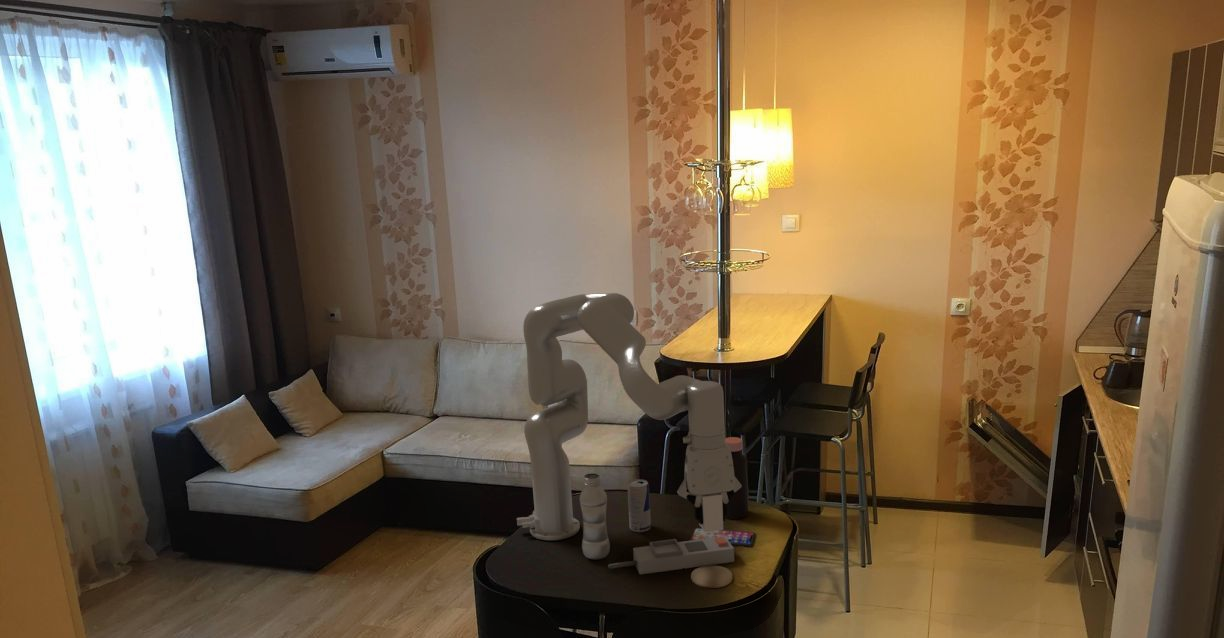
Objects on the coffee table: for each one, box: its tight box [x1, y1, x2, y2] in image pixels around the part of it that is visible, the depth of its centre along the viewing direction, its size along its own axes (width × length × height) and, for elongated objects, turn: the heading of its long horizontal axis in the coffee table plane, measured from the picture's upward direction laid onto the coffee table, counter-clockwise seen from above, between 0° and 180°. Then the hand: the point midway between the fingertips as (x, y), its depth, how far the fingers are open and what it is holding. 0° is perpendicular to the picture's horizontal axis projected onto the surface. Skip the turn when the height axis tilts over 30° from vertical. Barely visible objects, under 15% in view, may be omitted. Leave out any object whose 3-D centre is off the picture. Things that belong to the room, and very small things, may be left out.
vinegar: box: [725, 436, 749, 520], centre depth 213 cm, size 7×7×20 cm
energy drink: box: [627, 478, 652, 533], centre depth 209 cm, size 5×5×12 cm
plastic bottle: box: [579, 472, 611, 561], centre depth 195 cm, size 6×7×20 cm
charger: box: [698, 493, 724, 532], centre depth 181 cm, size 4×4×8 cm
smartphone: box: [689, 527, 756, 548], centre depth 202 cm, size 8×1×15 cm
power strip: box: [607, 536, 735, 575], centre depth 191 cm, size 28×7×4 cm, turn 100°
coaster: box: [690, 564, 733, 589], centre depth 184 cm, size 9×9×1 cm
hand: (710, 519), depth 181 cm, fingers closed on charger, 4 cm apart
